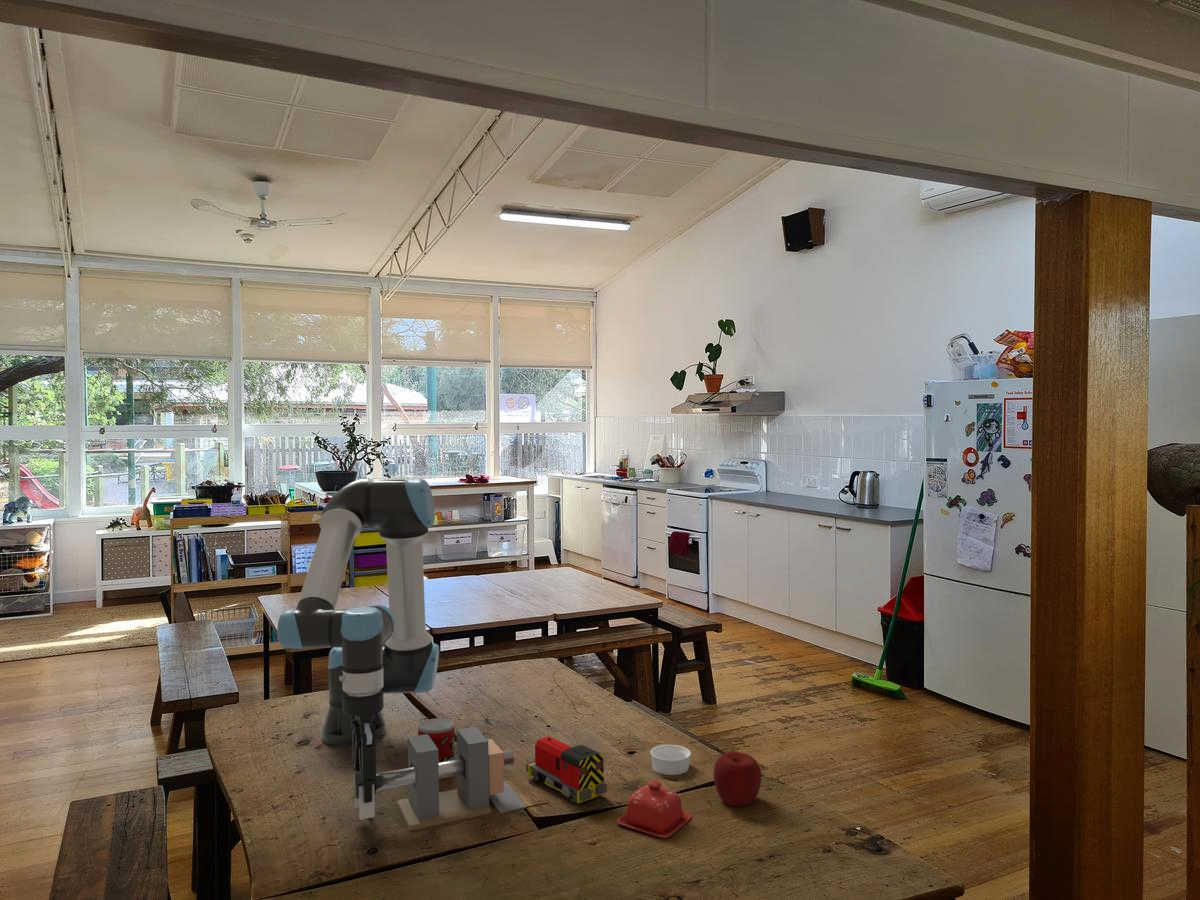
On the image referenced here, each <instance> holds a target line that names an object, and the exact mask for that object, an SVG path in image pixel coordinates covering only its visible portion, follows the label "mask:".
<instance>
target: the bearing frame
mask: <svg viewBox="0 0 1200 900" xmlns="http://www.w3.org/2000/svg"><path fill="white" fill-rule="evenodd" d="M488 740H489V739H487V737H485V735H484V734H483V733H482V732H481V730H480V729H479V728H478V727H476V726H470V727H464V728H458V729H456V759H462V758H464V759H465V764H466V774H462V775H457V776H456V778H457V779H456V780H457V781H456V785H457V787H456V788H454V789H449V790H444V791H440V786H439V784H440V783H439V782H440V779H439V762H438V748H437V747H436V745H435V744H434V743H433V741H432V740H431V738H430V737H429V735H428V734H425V735H419V736H418V735H414V736H408V737H407V768H411V767H414V768H415V783H413V784H408V787H407V788H408V792H407V793H408V798H407V797H406V798H403V799H402V798H401V799H397V801H396V806H397V808H398V809H399V812H400V814H401V816H402V818H403V821H404V822H405V824H406V826H407V828H408V830H409V832H410V831H415V830H419V829H423V828H428V827H434V826H438V825H443V824H448V823H452V822H456V821H457V822H458V821H461V820H466V819H470V818H475V817H479V816H486V815H488V814H492V808H491V806H490V799H489V750H488Z"/></svg>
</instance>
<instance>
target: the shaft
mask: <svg viewBox="0 0 1200 900" xmlns="http://www.w3.org/2000/svg"><path fill="white" fill-rule="evenodd" d="M502 751H503V753H504V768H505V767H510V766H514V763H515V757H514V753H513V750H512V749H509V750H508V749H507V750H502ZM352 774H353V777H352V786H353V787H352V788H353V793H354V794H353V795H354V800H355V799H359V787H357V786H356V783H360V771H359V772H357V771H356V772H355V771H354V772H353V773H352ZM462 774H466V764H465V759H464V758H462V759H457V758H455V760H451V761H445V762H439V780H441V778H443V779H446V777H447V778H450V777H457V775H462ZM376 779H377V782H376V784H374V794H375V795H376V794H377V791H380V790H386V789H391V788H397V787H402V786H407V785H408V784H413V783H415V768H414V767H411V768H408V767H405V768H400V769H394V770H389V771H383V772H379V773H378V772H376Z"/></svg>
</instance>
